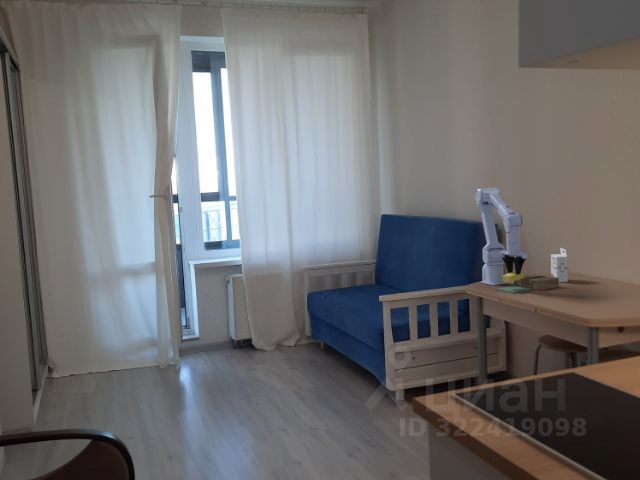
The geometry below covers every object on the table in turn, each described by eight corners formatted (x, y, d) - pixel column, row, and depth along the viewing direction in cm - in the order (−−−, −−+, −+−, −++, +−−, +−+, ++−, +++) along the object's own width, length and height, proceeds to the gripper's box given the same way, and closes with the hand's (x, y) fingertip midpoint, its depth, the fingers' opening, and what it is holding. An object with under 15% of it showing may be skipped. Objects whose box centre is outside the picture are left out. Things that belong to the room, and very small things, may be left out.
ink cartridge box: (550, 279, 288) (549, 248, 286) (561, 278, 287) (560, 247, 286) (557, 282, 279) (556, 250, 277) (568, 282, 279) (567, 249, 277)
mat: (496, 290, 270) (496, 288, 270) (514, 287, 274) (514, 285, 274) (512, 293, 261) (512, 292, 261) (530, 290, 265) (530, 288, 265)
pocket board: (513, 286, 277) (513, 277, 276) (534, 282, 282) (534, 273, 282) (537, 290, 264) (537, 281, 264) (558, 286, 270) (558, 277, 269)
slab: (503, 281, 268) (502, 275, 267) (517, 276, 271) (516, 270, 270) (510, 282, 264) (509, 276, 263) (524, 277, 267) (523, 271, 267)
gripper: (494, 241, 271) (495, 272, 272) (518, 244, 258) (519, 276, 259) (506, 240, 274) (507, 270, 275) (531, 242, 261) (531, 274, 262)
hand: (514, 273), depth 267 cm, fingers closed on slab, 4 cm apart
